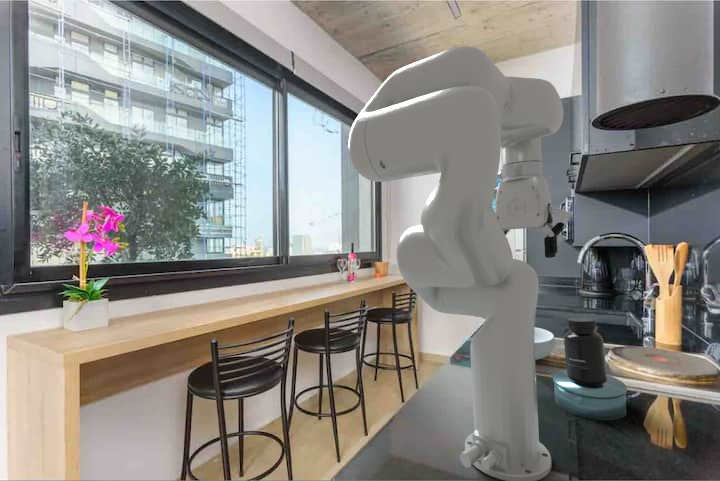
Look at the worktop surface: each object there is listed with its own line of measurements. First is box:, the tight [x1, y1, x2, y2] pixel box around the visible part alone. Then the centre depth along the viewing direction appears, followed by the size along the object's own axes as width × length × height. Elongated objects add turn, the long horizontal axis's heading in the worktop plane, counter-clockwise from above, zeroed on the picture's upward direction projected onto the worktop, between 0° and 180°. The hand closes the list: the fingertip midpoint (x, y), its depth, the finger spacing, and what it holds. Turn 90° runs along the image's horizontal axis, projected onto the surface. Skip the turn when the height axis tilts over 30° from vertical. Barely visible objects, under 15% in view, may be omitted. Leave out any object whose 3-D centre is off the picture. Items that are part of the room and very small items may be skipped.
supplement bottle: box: [563, 317, 608, 385], centre depth 70 cm, size 7×7×12 cm
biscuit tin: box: [552, 369, 628, 421], centre depth 70 cm, size 12×12×5 cm
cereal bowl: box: [534, 326, 555, 362], centre depth 98 cm, size 17×17×7 cm
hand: (525, 256), depth 72 cm, fingers open, 9 cm apart
